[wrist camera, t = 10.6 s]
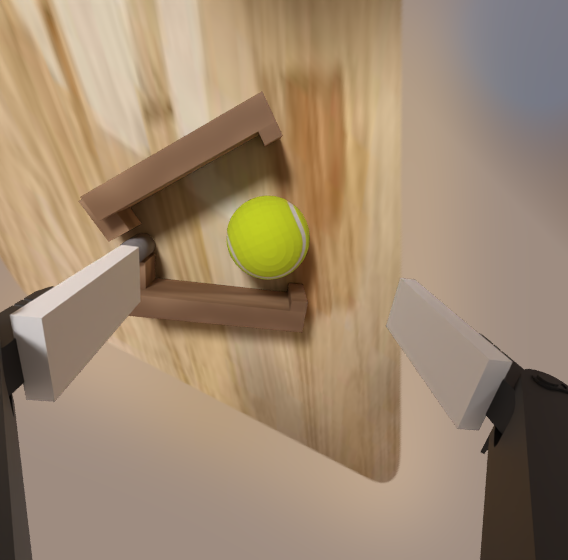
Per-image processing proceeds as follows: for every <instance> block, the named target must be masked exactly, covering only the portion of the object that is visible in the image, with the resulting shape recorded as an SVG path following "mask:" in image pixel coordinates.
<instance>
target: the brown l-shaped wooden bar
mask: <svg viewBox="0 0 568 560" xmlns="http://www.w3.org/2000/svg"><path fill="white" fill-rule="evenodd" d="M121 245H127V246H135V247H139V267H140V303H139V304H138V305H137V306H136V307H135V308H134V310H133V311H132V312H131V313H130V314H129V315H128V316H136V317H147V318H157V319H168V320H178V321H189V322H199V323H209V324H220V325H230V326H241V327H251V328H262V329H272V330H282V331H293V332H302V331H303V326H304V320H305V315H306V310H307V304H308V301H307V297H306V294H305V290H304V287H303V284H294V283H289V284H288V290H287V292H280V291H271V290H262V289H253V288H243V287H234V286H225V285H216V284H207V283H197V282H188V281H179V280H170V279H161V278H155V254H153V253H152V252H153V251H154V249H155V242H154V240H153V238H152V237H151V236H150V235H148V234H145V233H139V234H137V235H135V236H134V237H132V238H130V239H129V240H127V241H125V242H124V243H122V244H121Z"/></svg>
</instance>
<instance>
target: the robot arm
mask: <svg viewBox="0 0 568 560" xmlns="http://www.w3.org/2000/svg"><path fill="white" fill-rule="evenodd" d="M139 303H140V267H139V247H135V246H127V245H120V246H119V247H117V248H116V249H114V250H112V251H111V252H109V253H108V254H106V255H104V256H103V257H101V258H100V259H98V260H96V261H95V262H93V263H92V264H90V265H88V266H87V267H85V268H84V269H82V270H80V271H79V272H77V273H76V274H74V275H72V276H71V277H69V278H68V279H66V280H65V281H63V282H61V283H60V284H58V285H57V286H55V287H54V286H51V287H48V288H45V289H42V290H39V291H36V292H34V293H32V294H31V295H29V296H27V297H26V298H24V300H21V301H19V302H17V303H16V304H15V305H14V306H11V307H9V308H7V309H6V310H4V311H2V312H1V313H0V560H32V553H31V544H30V535H29V527H28V519H27V511H26V502H25V492H24V484H23V476H22V466H21V458H20V449H19V441H18V432H17V423H16V414H15V406H14V400H13V396H12V393H13V392H14V391H15V390H16V389H17V388H19V387H20V386H21V385H22V384H23V385H24V390H25V395H26V399H27V400H38V401H53V402H55V401H56V400H57V398H58V397H59V396H60V395H61V394H62V393H63V392H64V390H65V389H66V388H67V387H68V386H69V384H70V383H71V382H72V381H73V380H74V379H75V377H76V376H77V375H78V374H79V373H80V372H81V370H82V369H83V368H84V367H85V366H86V365H87V363H88V362H89V361H90V360H91V359H92V358H93V356H94V355H95V354H96V353H97V352H98V351H99V349H100V348H101V347H102V346H103V345H104V344H105V342H106V341H107V340H108V339H109V338H110V336H111V335H112V334H113V333H114V332H115V331H116V329H117V328H118V327H119V326H120V325H121V324H122V322H123V321H124V320H125V319H126V318H127V317H128V315H129V314H130V313H131V312H132V311H133V310H134V308H135V307H136V306H137V305H138V304H139ZM386 327H387V328H388V330H389V331H390V333H391V334H392V336H393V337H394V338H395V340H396V341H397V343H398V344H399V346H400V347H401V349H402V350H403V351H404V353H405V354H406V356H407V357H408V358H409V360H410V361H411V363H412V364H413V366H414V367H415V369H416V370H417V371H418V373H419V374H420V376H421V377H422V379H423V380H424V381H425V383H426V384H427V386H428V387H429V389H430V390H431V392H432V393H433V394H434V396H435V397H436V399H437V400H438V402H439V403H440V405H441V406H442V407H443V409H444V410H445V412H446V413H447V415H448V416H449V417H450V419H451V420H452V422H453V423H454V425H455V426H456V428H457V429H467V430H479V429H480V427H481V425H482V423H483V421H484V419H485V417H486V416H487V417H488V418H489V419H490V421H491V422H492V423H493V424H494V427H493V429H492V431H491V432H490V435H489V437H488V438H487V440H486V442H485V444H484V446H483V448H482V450H481V452H482V453H483V454H484V453H485V452H486V450H488V460H487V474H486V487H485V502H484V515H483V529H482V542H481V556H480V557H481V558H480V560H568V386H567V385H566V384H565V383H563V382H562V381H560V380H558V379H557V378H555V377H553V376H551V375H549V374H546V373H543V372H540V371H537V370H532V369H525V370H524V369H523V368H522V367H520V366H519V365H518V364H517V363H516V362H514V361H513V360H512V359H511V358H509V357H508V356H507V355H506V354H505V353H503V352H501V351H500V349H499V348H498V347H496V346H495V345H493V343H491V342H490V341H489V340H488V339H487V338H486V337H484V336H483V335H481V334H480V333H478V332H477V331H476V330H474V329H473V328H472V327H471V326H470V325H468V324H467V323H466V322H465V321H464V320H463V319H461V318H460V317H459V316H458V315H457V314H455V313H454V312H453V311H452V310H451V309H449V308H448V307H447V306H446V305H445V304H444V303H442V302H441V301H440V300H439V299H438V298H436V297H435V296H434V295H433V294H432V293H430V292H429V291H428V290H427V289H426V288H425V287H423V286H422V285H421V284H420V283H419V282H417V281H416V280H415V279H406V278H400V281H399V284H398V287H397V291H396V294H395V297H394V301H393V304H392V307H391V311H390V314H389V318H388V321H387V324H386Z"/></svg>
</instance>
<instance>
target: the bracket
mask: <svg viewBox="0 0 568 560" xmlns="http://www.w3.org/2000/svg"><path fill="white" fill-rule="evenodd" d="M258 135H260V137H261V139H262V141H263V143H264V145H265V146H267V145H269V144H271V143H273V142H274V141H276V140H278V139H280V138H281V137H282V136H283V135H282V133H281V131H280V129H279V126H278V124H277V122H276V120H275V118H274V116H273V113H272V111H271V109H270V107H269V105H268V103H267V100H266V98H265V96H264V94H263V92H260V93H258V94H257V95H255V96H253V97H251V98H250V99H248V100H246V101H245V102H243V103H241V104H239V105H238V106H236V107H234V108H233V109H231V110H229V111H227V112H226V113H224V114H222V115H220V116H219V117H217V118H215V119H214V120H212V121H210V122H208V123H207V124H205V125H203V126H202V127H200V128H198V129H196V130H195V131H193V132H191V133H189V134H188V135H186V136H184V137H183V138H181V139H179V140H177V141H176V142H174V143H172V144H171V145H169V146H167V147H165V148H164V149H162V150H160V151H158V152H157V153H155V154H153V155H152V156H150V157H148V158H146V159H145V160H143V161H141V162H140V163H138V164H136V165H134V166H133V167H131V168H129V169H127V170H126V171H124V172H122V173H121V174H119V175H117V176H115V177H114V178H112V179H110V180H109V181H107V182H105V183H103V184H102V185H100V186H98V187H96V188H95V189H93V190H91V191H90V192H88V193H86V194H84V195H83V196H81V200H79V203H80V204H81V205H82V207H83V208H84V209H85V211H86V212H87V213H88V215H89V216H90V217H91V219H92V220H93V221H94V223H95V224H96V225H97V227H98V228H99V229H100V231H101V232H102V233H103V235H104V236H105V237H106V239H107V240H108V241H111V240H113V239H115V238H116V237H118V236H120V235H122V234H124V233H126V232H127V231H129V230H131V229H133V228H135V227H136V226H138V225H140V224H141V222H140V221H139V220H138V218H137V217H136V215H135V214H134V212H133V211H132V209H131V208H130V207H131V206H133V205H135V204H137V203H138V202H140V201H142V200H144V199H146V198H147V197H149V196H151V195H153V194H155V193H156V192H158V191H160V190H162V189H163V188H165V187H167V186H169V185H171V184H172V183H174V182H176V181H178V180H179V179H181V178H183V177H185V176H187V175H188V174H190V173H192V172H194V171H195V170H197V169H199V168H201V167H203V166H204V165H206V164H208V163H210V162H211V161H213V160H215V159H217V158H219V157H220V156H222V155H224V154H226V153H227V152H229V151H231V150H233V149H235V148H236V147H238V146H240V145H242V144H243V143H245V142H247V141H249V140H251V139H252V138H254V137H256V136H258Z"/></svg>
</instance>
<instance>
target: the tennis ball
mask: <svg viewBox="0 0 568 560" xmlns="http://www.w3.org/2000/svg"><path fill="white" fill-rule="evenodd" d="M309 241H310V237H309V228H308V225H307V222H306V220H305V218H304V216H303V214H302V213H301V212H300V211H299V209H298V208H297V207H296V206H294V205H292V204H291V203H289V202H288V201H287V200H285V199H283V198H280V197H276V196H260V197H256V198H254V199H251V200H249V201H247V202H245V203H244V204H242V205H241V206H240V207H239V208H238V209H237V210H236V211H235V213H234V214H233V216H232V217H231V219H230V222H229V224H228V228H227V247H228V250H229V253H230V256H231V258H232V259H233V261H234V262H235V264H236V265H237V266H238V267H239V268H240V269H241V270H242V271H244V272H245V273H247V274H248V275H250V276H253V277H255V278H259V279H266V280H272V279H278V278H281V277H284V276H286V275H288V274H290V273H292V272H293V271H294V270H295V269H296V268H297V267H298V266H299V265H300V264H301V263H302V261H303V260H304V258H305V256H306V254H307V251H308V248H309Z"/></svg>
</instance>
